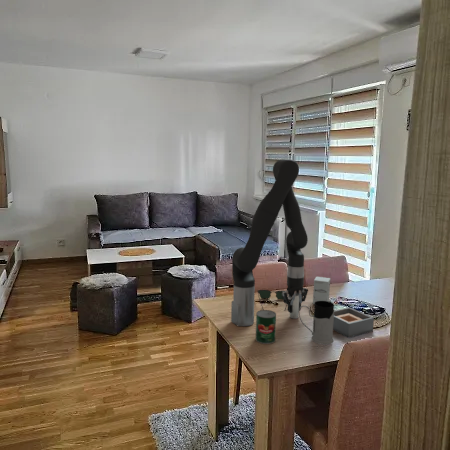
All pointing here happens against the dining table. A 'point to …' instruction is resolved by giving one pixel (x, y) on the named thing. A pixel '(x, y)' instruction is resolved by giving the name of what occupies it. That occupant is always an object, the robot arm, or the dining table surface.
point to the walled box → (352, 322)
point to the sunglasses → (269, 294)
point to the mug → (322, 322)
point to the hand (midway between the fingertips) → (294, 311)
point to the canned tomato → (265, 326)
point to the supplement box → (321, 289)
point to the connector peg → (295, 307)
